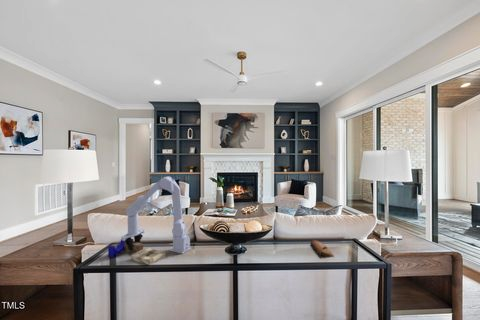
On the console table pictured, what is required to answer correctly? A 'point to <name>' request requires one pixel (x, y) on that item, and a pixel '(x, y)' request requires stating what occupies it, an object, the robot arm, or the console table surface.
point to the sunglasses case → (321, 249)
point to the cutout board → (149, 260)
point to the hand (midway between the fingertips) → (133, 248)
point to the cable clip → (116, 249)
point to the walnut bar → (134, 247)
